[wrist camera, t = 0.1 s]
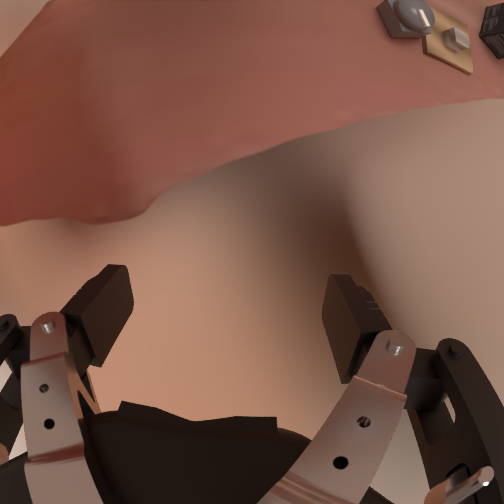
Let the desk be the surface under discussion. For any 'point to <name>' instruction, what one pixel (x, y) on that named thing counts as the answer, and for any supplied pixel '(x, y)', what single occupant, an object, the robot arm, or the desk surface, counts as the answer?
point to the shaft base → (438, 44)
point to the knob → (407, 18)
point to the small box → (494, 29)
